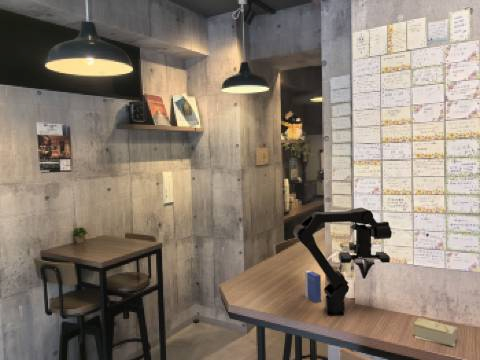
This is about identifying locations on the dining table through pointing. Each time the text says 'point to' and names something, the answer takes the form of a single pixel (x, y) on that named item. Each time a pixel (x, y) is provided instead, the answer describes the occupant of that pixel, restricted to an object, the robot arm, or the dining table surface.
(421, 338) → the mat
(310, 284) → the walkman
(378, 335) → the dining table surface
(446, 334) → the skincare box
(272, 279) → the dining table surface
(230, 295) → the dining table surface
